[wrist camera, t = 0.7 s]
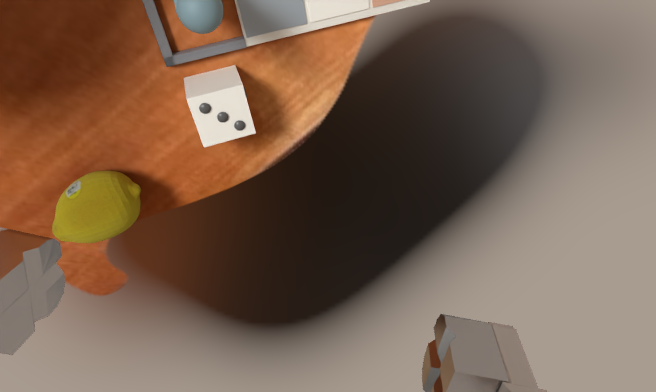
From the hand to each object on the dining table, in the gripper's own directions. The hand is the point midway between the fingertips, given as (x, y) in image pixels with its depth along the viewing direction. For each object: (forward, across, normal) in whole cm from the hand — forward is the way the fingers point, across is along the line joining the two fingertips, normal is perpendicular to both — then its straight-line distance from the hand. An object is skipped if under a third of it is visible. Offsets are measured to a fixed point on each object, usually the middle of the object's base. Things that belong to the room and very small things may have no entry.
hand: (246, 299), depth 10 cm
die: (+46, +14, +11) cm, 49 cm away
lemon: (+42, +27, +24) cm, 55 cm away
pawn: (+44, +17, -2) cm, 47 cm away
